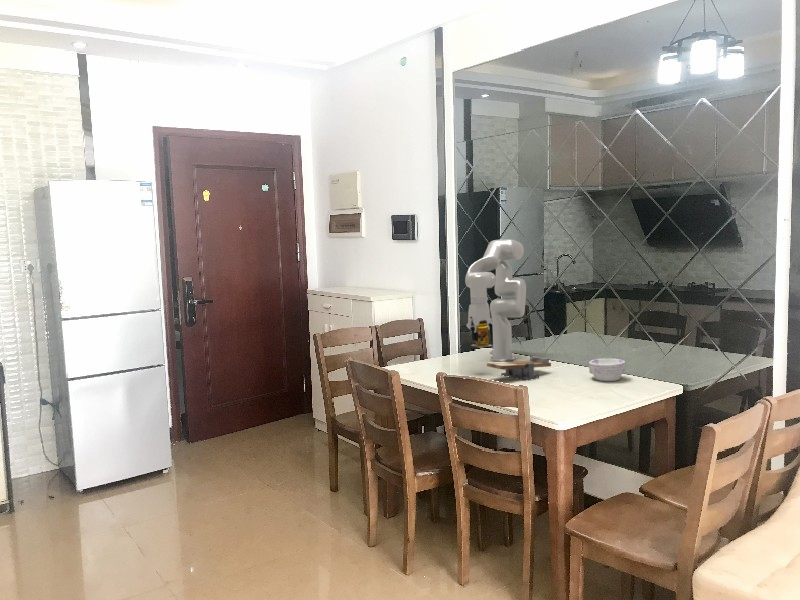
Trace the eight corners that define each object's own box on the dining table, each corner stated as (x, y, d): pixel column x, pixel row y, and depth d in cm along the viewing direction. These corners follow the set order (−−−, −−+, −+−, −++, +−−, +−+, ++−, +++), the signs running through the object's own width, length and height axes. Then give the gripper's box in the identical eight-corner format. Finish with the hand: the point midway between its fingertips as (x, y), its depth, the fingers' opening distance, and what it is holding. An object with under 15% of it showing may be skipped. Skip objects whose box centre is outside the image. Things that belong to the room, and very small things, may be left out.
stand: (501, 375, 299) (500, 360, 299) (514, 372, 304) (513, 357, 303) (526, 380, 286) (525, 365, 285) (539, 378, 291) (538, 362, 290)
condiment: (480, 348, 298) (479, 322, 296) (469, 345, 305) (468, 320, 303) (493, 345, 301) (492, 320, 299) (482, 343, 308) (481, 318, 307)
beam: (486, 366, 290) (487, 358, 290) (535, 363, 307) (535, 355, 307) (502, 369, 282) (502, 361, 282) (551, 366, 299) (551, 358, 298)
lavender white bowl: (588, 375, 292) (588, 357, 291) (624, 375, 288) (624, 357, 287) (589, 382, 277) (589, 364, 277) (627, 383, 273) (627, 364, 273)
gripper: (487, 298, 308) (489, 335, 310) (459, 302, 298) (461, 341, 301) (498, 299, 302) (500, 337, 304) (469, 304, 292) (471, 343, 295)
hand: (480, 339), depth 302 cm, fingers closed on condiment, 6 cm apart
